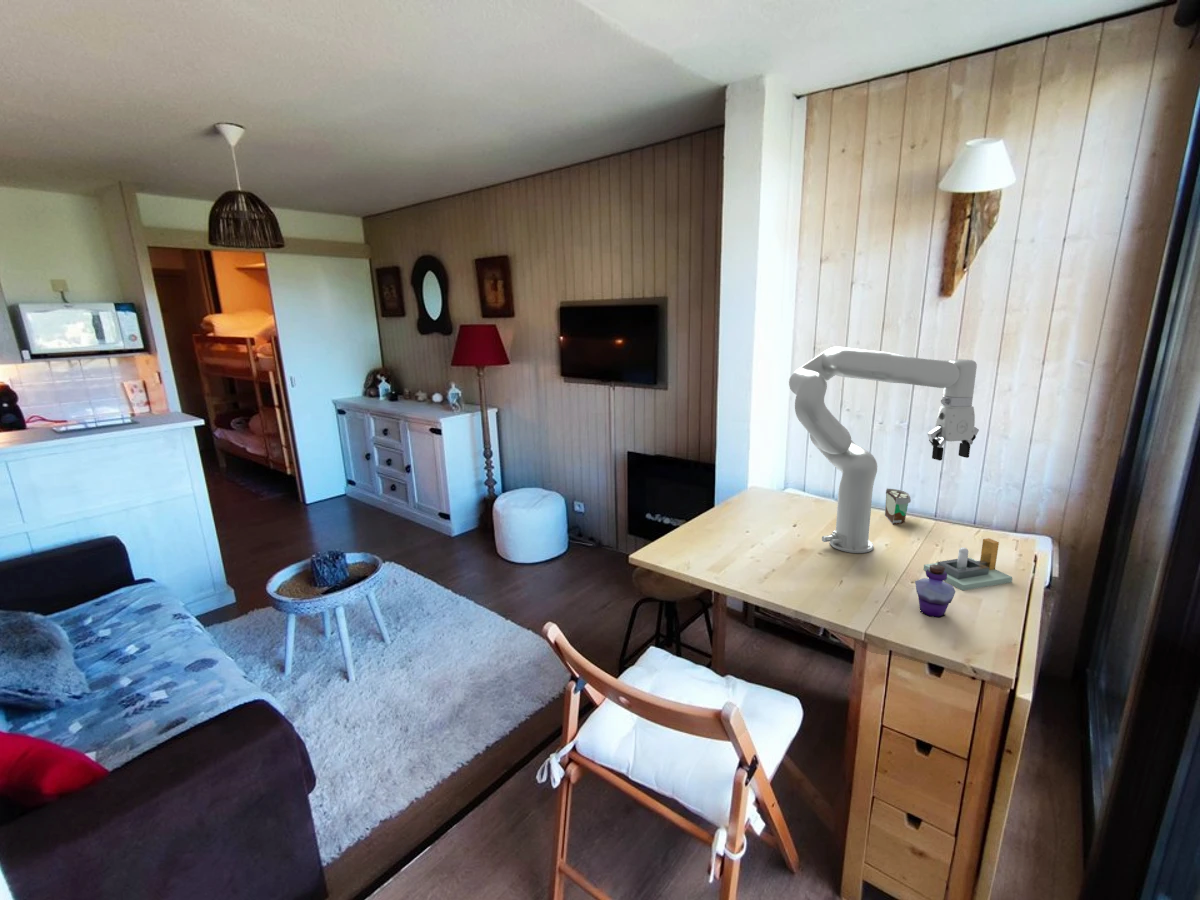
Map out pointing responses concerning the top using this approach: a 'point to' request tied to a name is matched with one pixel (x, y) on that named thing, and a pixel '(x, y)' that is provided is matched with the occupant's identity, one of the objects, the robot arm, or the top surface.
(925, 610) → the potion bottle
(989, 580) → the plate
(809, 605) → the top surface
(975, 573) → the grey square frame
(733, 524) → the top surface
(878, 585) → the top surface
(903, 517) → the food container
